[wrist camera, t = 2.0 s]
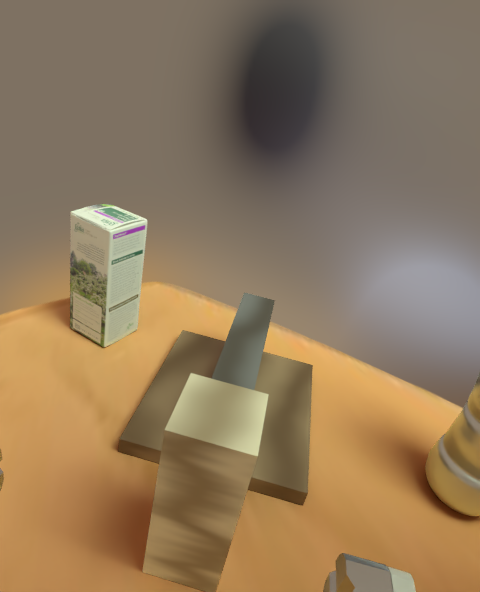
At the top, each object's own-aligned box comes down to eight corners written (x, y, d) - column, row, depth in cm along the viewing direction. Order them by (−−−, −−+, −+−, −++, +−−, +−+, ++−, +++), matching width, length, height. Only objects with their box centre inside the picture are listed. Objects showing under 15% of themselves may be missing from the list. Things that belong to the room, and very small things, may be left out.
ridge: (309, 375, 51) (331, 311, 47) (302, 505, 35) (335, 425, 31) (181, 340, 52) (191, 274, 48) (118, 451, 36) (126, 367, 32)
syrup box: (139, 330, 52) (151, 217, 45) (102, 350, 47) (110, 227, 41) (105, 311, 54) (111, 201, 47) (66, 329, 49) (68, 209, 43)
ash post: (229, 524, 32) (268, 394, 26) (215, 594, 28) (257, 456, 22) (166, 506, 32) (190, 372, 26) (142, 572, 28) (164, 429, 22)
